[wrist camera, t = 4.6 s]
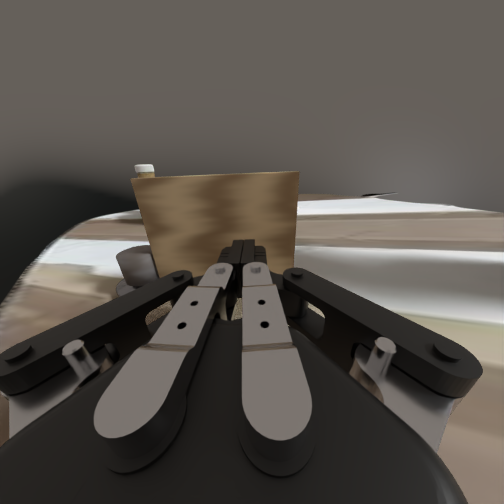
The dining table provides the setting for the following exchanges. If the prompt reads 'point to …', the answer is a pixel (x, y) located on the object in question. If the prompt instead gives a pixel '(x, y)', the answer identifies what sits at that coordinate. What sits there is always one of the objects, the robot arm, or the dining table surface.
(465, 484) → the dining table surface
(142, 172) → the sprinkles bottle
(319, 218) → the dining table surface
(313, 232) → the dining table surface
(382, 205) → the dining table surface
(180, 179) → the tan wooden flat panel
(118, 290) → the pivot disc
